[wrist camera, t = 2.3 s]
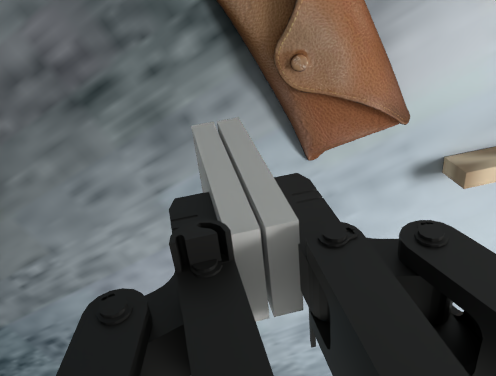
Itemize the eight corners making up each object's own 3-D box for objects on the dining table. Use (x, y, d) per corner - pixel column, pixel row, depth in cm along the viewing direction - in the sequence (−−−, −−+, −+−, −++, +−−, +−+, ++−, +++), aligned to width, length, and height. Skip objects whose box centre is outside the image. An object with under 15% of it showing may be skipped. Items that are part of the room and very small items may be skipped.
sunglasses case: (175, -44, 27) (243, -81, 22) (246, -104, 30) (322, -149, 24) (310, 168, 37) (381, 177, 31) (356, 109, 39) (428, 109, 34)
